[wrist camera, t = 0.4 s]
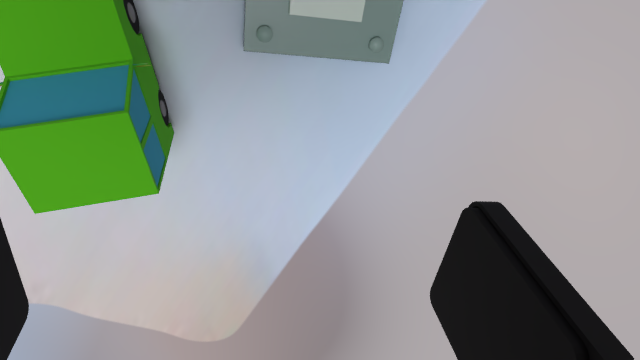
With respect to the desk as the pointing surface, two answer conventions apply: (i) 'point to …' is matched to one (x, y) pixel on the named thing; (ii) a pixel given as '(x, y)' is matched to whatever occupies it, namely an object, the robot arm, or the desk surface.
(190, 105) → the desk surface
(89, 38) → the toy car
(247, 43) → the baseplate
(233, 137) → the desk surface
